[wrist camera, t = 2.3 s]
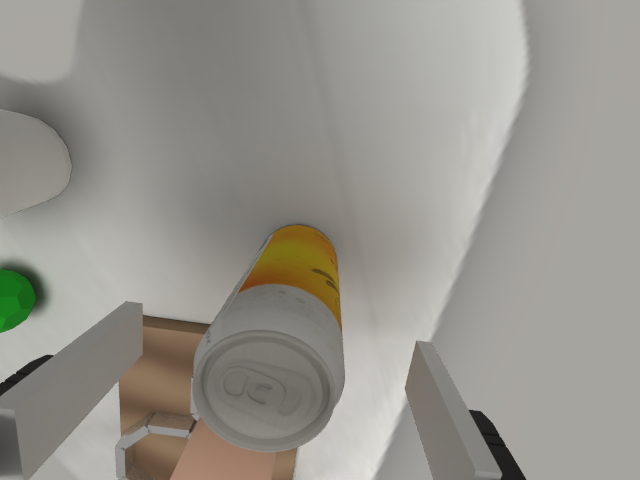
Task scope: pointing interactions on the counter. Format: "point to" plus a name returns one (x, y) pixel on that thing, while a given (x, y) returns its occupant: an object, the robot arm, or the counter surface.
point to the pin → (220, 459)
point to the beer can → (275, 347)
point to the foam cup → (30, 162)
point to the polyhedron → (14, 299)
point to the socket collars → (163, 423)
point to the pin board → (169, 394)
